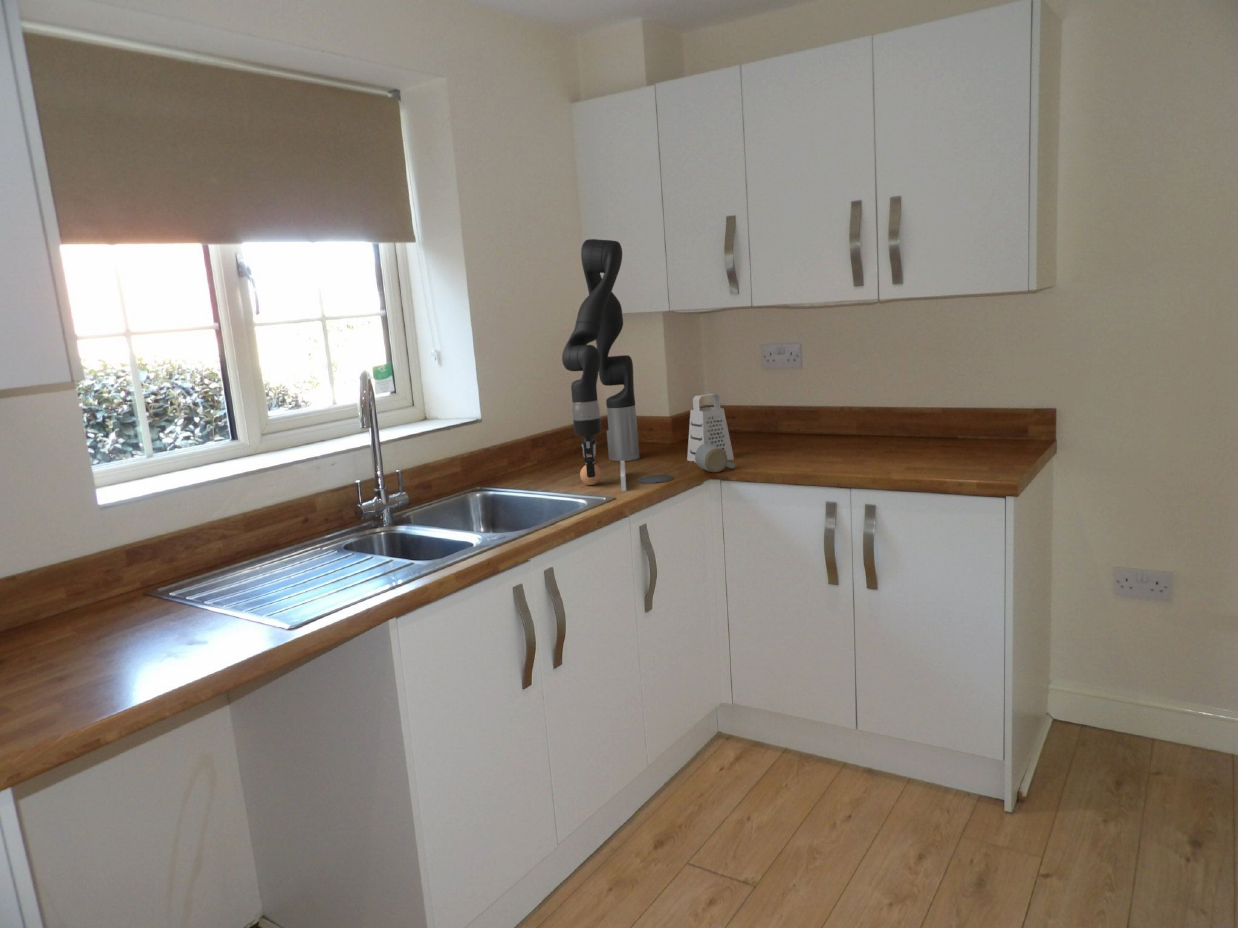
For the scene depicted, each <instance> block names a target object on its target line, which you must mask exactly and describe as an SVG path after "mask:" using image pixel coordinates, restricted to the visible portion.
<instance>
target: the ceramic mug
mask: <svg viewBox="0 0 1238 928" xmlns="http://www.w3.org/2000/svg"><path fill="white" fill-rule="evenodd" d="M718 447H719V446H718ZM718 447H717V446H715V445H713V444H710V443H706V444H702V445H701V446H700V447H699V448H698V449H697V451H696V453H695V461H696V462H695V463H696V465H697V466H698V467H699V468H700V469H703V470H705V471H707V472H709V473H720V472H722V471H723V470H724V469H725V468H728V469H732V470H734V469H735V467H736V463H735V462H732V461H731V460H727V455H726V453H725V452H724V451H723V450H724V449H723V448H722V449H721V448H718Z"/></svg>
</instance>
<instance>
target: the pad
mask: <svg viewBox="0 0 1238 928" xmlns="http://www.w3.org/2000/svg"><path fill="white" fill-rule="evenodd" d="M671 479H673V480H674V476H673V475H669V474H668V475H667V474H655V475H646V476H642V477H639V478H638V479H637V482H638V481H639V482H638V483H640V482H642V484H657V483H656V482H662V483H666V482H665V481H667V482H669V481H668V480H671ZM671 481H672V480H671Z"/></svg>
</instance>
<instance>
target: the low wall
mask: <svg viewBox="0 0 1238 928" xmlns="http://www.w3.org/2000/svg"><path fill="white" fill-rule="evenodd" d="M619 462H620V463H619V464H620V466H619V467H620V486H621V487H620V488H621V492H627V477H626V464H625V462H626V461H619Z"/></svg>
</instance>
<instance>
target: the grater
mask: <svg viewBox="0 0 1238 928" xmlns="http://www.w3.org/2000/svg"><path fill="white" fill-rule="evenodd" d="M708 396H712V397H713V406H707V407H701V408H700V399H701V398H702V397H708ZM692 408H693V409H690V410H689V411H690V412H689V413H690V414H689V426H688V427H689V429H688V442H687V443H688V444H687V459H686V461H689V462H692V461H694V462H693V463H696V461H695V453H696V451H697V449H698V448H699V447H700V446H701V445H702V444H706V443H710V444H713V445H715V446H717V447H718V448H720V449H722V450H723V451H724V452H725V453H726V455H727V460H728V461H731V460H735V458H734V453H733V452H734V451H733V448H732V443H731V436H730V434H729V433H730V432H729V427H728V423H727V419H726V414H725V408H723V407H721V397H720V396H719V394H717V393H706V394H699V395H695V396H694V397H693V399H692Z"/></svg>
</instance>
